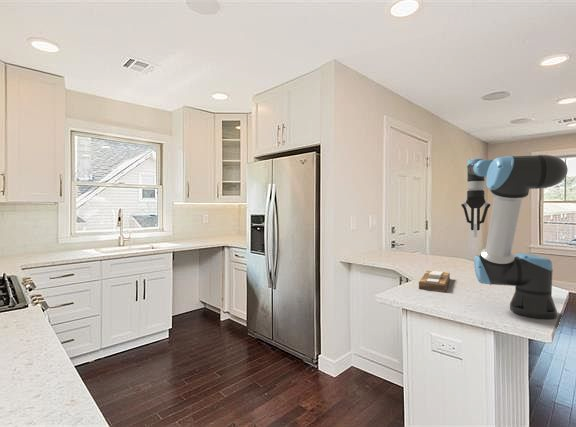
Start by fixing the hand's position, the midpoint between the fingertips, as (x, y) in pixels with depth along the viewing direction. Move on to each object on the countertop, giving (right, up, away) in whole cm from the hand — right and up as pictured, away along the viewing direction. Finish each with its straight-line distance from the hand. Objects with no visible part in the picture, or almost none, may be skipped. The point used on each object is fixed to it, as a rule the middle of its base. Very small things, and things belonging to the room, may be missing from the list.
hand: (475, 236), depth 163 cm
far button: (-10, -24, +20) cm, 33 cm away
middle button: (-15, -23, +12) cm, 30 cm away
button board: (-15, -26, +12) cm, 32 cm away
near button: (-20, -25, +3) cm, 32 cm away
